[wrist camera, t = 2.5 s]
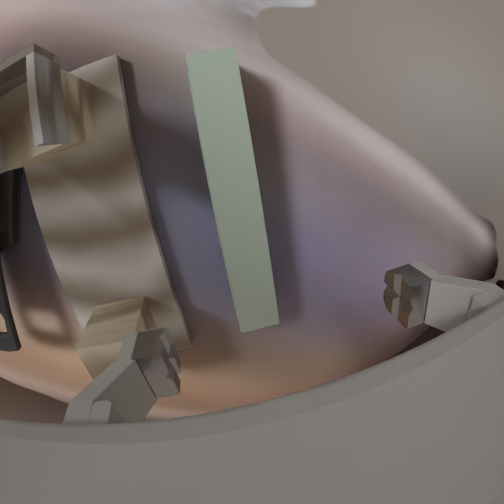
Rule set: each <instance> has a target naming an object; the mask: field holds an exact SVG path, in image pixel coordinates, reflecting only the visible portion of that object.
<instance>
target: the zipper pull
mask: <svg viewBox="0 0 504 504" xmlns="http://www.w3.org/2000/svg"><path fill="white" fill-rule="evenodd" d="M21 170H22V167H21V168H17V169H13V170H9V171H5V172H3V173H1V174H0V254H1V253H3V252H4V251H5V250H7V249H8V248H9V247H10V246H12V245H13V244H14V243H15V242H17V241H18V240H19V239H20V223H19V210H20V182H21ZM0 313H1V315H2V316H3V318H4V319H5V324H6V328H7V332H0V350H2V351H18V350H19V349H20V348H21V344H20V341H19V337H18V334H17V330H16V327H15V323H14V320H13V316H12V313H11V309H10V305H9V300H8V296H7V291H6V287H5V281H4V276H3V270H2V264H1V258H0Z"/></svg>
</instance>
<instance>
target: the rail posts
mask: <svg viewBox="0 0 504 504" xmlns="http://www.w3.org/2000/svg"><path fill="white" fill-rule="evenodd" d="M21 167H24V170H25V175H26V179H27V183H28V187H29V191H30V195H31V199H32V202H33V206H34V209H35V213H36V216H37V219H38V222H39V226H40V229H41V232H42V235H43V238H44V241H45V243H46V246H47V249H48V252H49V254H50V257H51V260H52V262H53V265H54V267H55V270H56V272H57V275H58V277H59V279H60V282H61V284H62V286H63V289H64V291H65V293H66V295H67V298H68V300H69V302H70V304H71V306H72V308H73V310H74V312H75V315H76V317H77V319H78V321H79V323H80V325H81V326H82V328H83V330H84V331H83V333H82V335H81V337H80V339H79V341H78V344H77V346H76V348H75V350H76V352H77V354H78V355H79V357H80V359H81V360H82V362H83V364H84V365H85V367H86V368H87V370H88V371H89V373H90V375H91V376H92V378H93V379H95V378H96V377H97V376H99V375H100V374H101V373H102V372H103V371H104V370H105V369H106V368H107V367H109V366H110V365H111V364H112V363H114V362H117V359H118V355H119V352H120V348H121V345H122V342H123V338H124V335H125V334H127V333H131V332H136V331H142V330H149V329H155V328H160V327H167V328H168V330H169V333H170V335H171V344H172V345H174V346H175V347H176V350H177V351H182V350H187V349H192V348H193V347H192V338H191V336H190V333H189V330H188V328H187V325H186V322H185V319H184V316H183V314H182V311H181V308H180V305H179V302H178V299H177V296H176V293H175V290H174V287H173V284H172V281H171V278H170V275H169V272H168V269H167V265H166V262H165V259H164V256H163V252H162V249H161V246H160V242H159V239H158V235H157V232H156V228H155V225H154V221H153V217H152V214H151V210H150V206H149V202H148V198H147V194H146V190H145V186H144V182H143V178H142V174H141V170H140V165H139V161H138V157H137V152H136V147H135V143H134V138H133V133H132V128H131V123H130V117H129V112H128V107H127V101H126V95H125V89H124V82H123V76H122V69H121V62H120V58H119V56H118V55H117V54H115V55H112V56H109V57H106V58H103V59H101V60H98V61H95V62H93V63H90V64H87V65H85V66H82V67H80V68H78V69H75V70H73V71H70V72H67V71H65V70H63V69H60V61H59V57H58V56H56V55H54V54H52V53H51V52H49V51H47V50H45V49H43V48H41V47H39V46H37V45H36V44H32V45H30V46H28V47H27V48H25V49H23V50H21V51H20V52H18V53H16V54H15V55H13V56H12V57H10V58H8V59H7V60H5V61H4V62H2V63H1V64H0V174H1V173H3V172H5V171H9V170H13V169H17V168H21Z"/></svg>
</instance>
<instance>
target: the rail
mask: <svg viewBox="0 0 504 504" xmlns="http://www.w3.org/2000/svg"><path fill="white" fill-rule="evenodd" d="M185 56H186V66H187V73H188V79H189V85H190V90H191V96H192V102H193V108H194V113H195V119H196V124H197V130H198V135H199V141H200V146H201V151H202V157H203V162H204V167H205V172H206V177H207V182H208V187H209V192H210V197H211V202H212V207H213V212H214V217H215V222H216V226H217V231H218V236H219V241H220V245H221V250H222V255H223V259H224V264H225V268H226V273H227V277H228V282H229V286H230V291H231V295H232V299H233V304H234V308H235V312H236V316H237V320H238V323H239V327H240V331H241V333H245V332H249V331H253V330H257V329H262V328H266V327H270V326H273V325H277V324H280V322H279V315H278V308H277V301H276V294H275V287H274V280H273V274H272V267H271V260H270V253H269V247H268V240H267V234H266V227H265V221H264V214H263V208H262V201H261V195H260V189H259V183H258V176H257V170H256V164H255V158H254V152H253V146H252V140H251V134H250V128H249V122H248V116H247V111H246V105H245V99H244V93H243V88H242V82H241V77H240V71H239V65H238V60H237V54H236V49H235V47H228V48H220V49H213V50H207V51H200V52H195V53H189V54H185Z"/></svg>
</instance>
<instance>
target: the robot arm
mask: <svg viewBox="0 0 504 504" xmlns="http://www.w3.org/2000/svg"><path fill="white" fill-rule="evenodd" d="M384 282H385V283H386V285H387V287H386V289H385V291H384V303H385V306H386V308H387V310H388V311H389V312H390V313H391V314H393V315H397V316H398V321H399V322H400V323H401V324H402V325H403V326H404V327H405V328H406V329H409V328H411V327H414V326H416V325H419V324H421V323H425V324H427V325H430V326H432V327H435V328H438V329H440V330H442V331H445V332H446V333H444V334H442V335H440V336H438V337H436V338H434V339H432V340H430V341H428V342H426V343H424V344H422V345H420V346H417V347H415V348H413V349H411V350H409V351H407V352H405V353H402V354H400V355H398V356H396V357H393V358H391V359H389V360H386V361H384V362H381V363H379V364H376V365H374V366H372V367H369V368H367V369H364V370H361V371H359V372H356V373H353V374H351V375H348V376H345V377H343V378H340V379H337V380H334V381H331V382H328V383H325V384H322V385H319V386H316V387H313V388H309V389H306V390H303V391H299V392H296V393H293V394H289V395H285V396H282V397H278V398H274V399H270V400H266V401H262V402H258V403H254V404H250V405H245V406H241V407H236V408H231V409H226V410H221V411H216V412H210V413H205V414H199V415H192V416H186V417H179V418H171V419H163V420H154V421H143V420H144V418H145V417H146V415H147V414H148V412H149V411H150V409H151V408H152V406H153V405H154V403H155V402H156V400H157V399H156V398H162V397H168V396H174V395H179V394H180V379H179V377H178V374H179V373H180V360H179V356H178V353H177V350H176V347H175V346H174V345H172V344H171V335H170V333H169V330H168V328H167V327H160V328H155V329H149V330H142V331H136V332H131V333H127V334H125V335H124V338H123V342H122V345H121V348H120V352H119V355H118V359H117V362H114V363H112V364H111V365H110V366H109V367H107V368H106V369H105V370H104V371H103V372H102V373H101V374H100V375H99V376H97V377H96V378H95V379H94V380H93V381H92V382H91V383H90V384H89V385H88V386H86V387H85V388H84V389H83V390H82V391H81V392H80V393H79V394H78V395H77V396H75V397H74V398H73V399H72V400H71V401H70V403H69V406H68V409H67V412H66V415H65V418H64V421H63V424H48V423H32V422H22V421H12V420H4V419H0V504H504V290H503V289H501V288H500V287H498V286H497V285H495V284H494V283H488V282H483V281H477V280H471V279H466V278H460V277H455V276H449V275H444V276H442V275H441V274H439V273H438V272H436V271H434V270H433V269H431V268H430V267H428V266H426V265H425V264H423V263H422V262H420V261H414V262H412V263H409V264H406V265H404V266H401V267H398V268H395V269H392V270H389V271H386V274H385V279H384ZM142 421H143V422H142Z"/></svg>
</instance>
